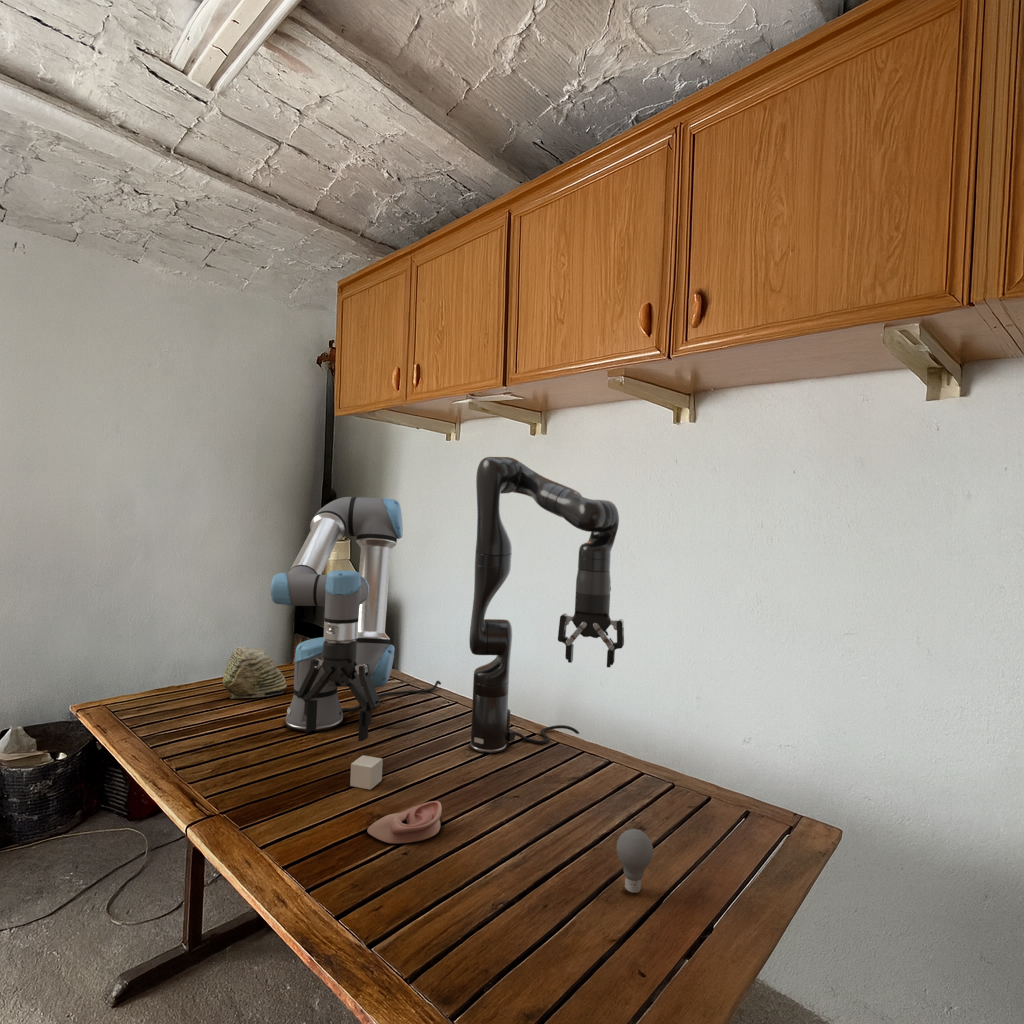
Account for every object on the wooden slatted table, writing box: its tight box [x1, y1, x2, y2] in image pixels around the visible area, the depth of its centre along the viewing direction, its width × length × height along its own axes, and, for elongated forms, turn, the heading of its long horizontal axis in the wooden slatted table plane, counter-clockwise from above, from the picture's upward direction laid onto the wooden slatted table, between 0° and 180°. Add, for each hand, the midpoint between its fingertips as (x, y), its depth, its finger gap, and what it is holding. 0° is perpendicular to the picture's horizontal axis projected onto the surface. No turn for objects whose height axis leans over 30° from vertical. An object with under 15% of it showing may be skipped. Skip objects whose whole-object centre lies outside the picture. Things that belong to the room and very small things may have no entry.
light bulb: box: [615, 828, 654, 894], centre depth 106 cm, size 6×6×10 cm
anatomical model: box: [366, 800, 443, 845], centre depth 122 cm, size 13×4×12 cm
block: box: [349, 754, 384, 790], centre depth 141 cm, size 5×5×5 cm
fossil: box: [222, 646, 288, 699], centre depth 198 cm, size 9×18×15 cm, turn 132°
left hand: (336, 734), depth 142 cm, fingers open, 13 cm apart
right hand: (589, 664), depth 139 cm, fingers open, 8 cm apart
